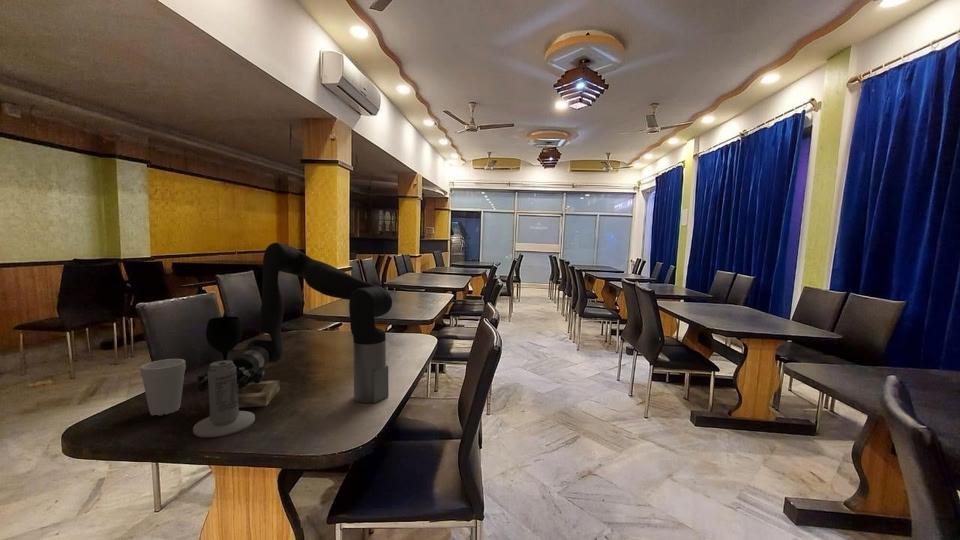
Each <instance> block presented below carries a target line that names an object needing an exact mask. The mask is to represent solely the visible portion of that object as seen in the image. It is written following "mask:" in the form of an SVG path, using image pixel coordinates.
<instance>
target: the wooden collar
mask: <svg viewBox="0 0 960 540" xmlns="http://www.w3.org/2000/svg"><path fill="white" fill-rule="evenodd" d="M280 387H281V385H280V380H275V379H274V380H261V381H260V382H259V383H254V382H251V384H249V385H247V386H245V387H243V388H242V389H238V384H237V390H238V407H239V409H240V408H253V407H256V408H257V407H267V406H268V404H269V403H270V402H271V401H272V400H273V398H274V397H275V396H276V395H277V393H278V392H279V391H280V390H281V389H280Z"/></svg>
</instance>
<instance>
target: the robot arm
mask: <svg viewBox="0 0 960 540" xmlns="http://www.w3.org/2000/svg"><path fill="white" fill-rule="evenodd" d="M262 259H263V260H262V284H261V285H262V286H261V287H262V290H261V291H262V296H261V305H260V311H259V316H258V322H257V325H256V327H257V330H258V332H259V333H264V334H267V335H268V336H270V339H271V340H269V339H254V340H251V341H249V343H248V344H247V347H246V350H245V351H244V352H241V353H240V354H238V355H237V356H236V357H234V358H232V359H231V360H232V361H233V364H234V365H235V366H236V373H237V384H238V389H242V388H243V387H245V386H247V385H249V384H251V382H254V383H259V382H260V381H263V379H264V377H265V366H266V365H267V364H268V363H273V364H274V363H277V362H279V361H280V360H281V358H282V356H283V352H284V346H283V340H282V323H283V320H284V313H285V303H284V298H283V297H282V294H281V290H280V285H279V273H281V272H282V273H286V274H291V275H294V276H297V277H299V278H302V279H303V280H304V281H305V283H306V285H307V286H308V287H310V288H311V289H312V290H315V291H316V292H317V293H320V294H322V295H325V296H328V297H331V298H334V299H335V298H336V299H342V300H347V301H348V302H349V304H348V307H349V308H348V309H349V319H350V320H349V322H350V332H351V334H352V337H353V399H354V401H355V402H358V403H360V402H361V403H362V404H369V403H370V404H376V403H379V402H380V401H383V400H384V399H386V398H388V397H389V365H387V364H386V363H387V362H386V360H387V359H386V358H387V357H386V355H387V353H386V336H387V335H386V334H387V333H386V331H385V330H384V329H382V328H379V327H378V328H377V327H376V322H375V318H377V317H382V316H384V315H386V314H388V313H389V312H390V310H391V309H392V306H393V299H392V296H391V294H390V293H389V292H388V290H387V289H386V288H384V287H382V286H379V285H376V284H373V283H370V282H367V281H363V280H361V279H359V278H358V277H355V276H353V275H351V274H349V273H347V272H345V271H343V270H341V269H339V268H337V267H335V266H333V265H332V264H329V263H326V262H323V261H320V260H316V259H313V258H312V257H310V256H308V255H307V254H305V253H304V252H303V251H301V250H300V249H298V248H296V247H292V246H290V245H287V244H283V243H280V242H272V243H270V244H269V245H268V246H267V247H266V249H265V250H264V253H263V258H262ZM207 372H208V370H207V371H206V372H203V373H201V374H200V375H198V376H197V389H198V391H199V392H204V391H206V390H207V389H208V374H207Z"/></svg>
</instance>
